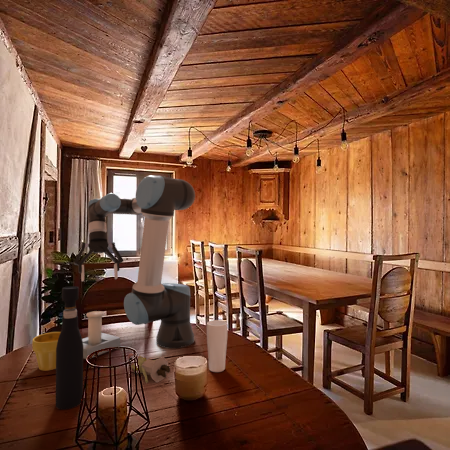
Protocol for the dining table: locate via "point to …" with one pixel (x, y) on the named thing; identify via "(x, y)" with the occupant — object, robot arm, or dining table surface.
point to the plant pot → (46, 350)
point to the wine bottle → (69, 355)
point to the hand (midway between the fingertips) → (100, 279)
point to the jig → (106, 343)
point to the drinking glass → (216, 344)
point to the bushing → (94, 327)
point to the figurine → (151, 367)
